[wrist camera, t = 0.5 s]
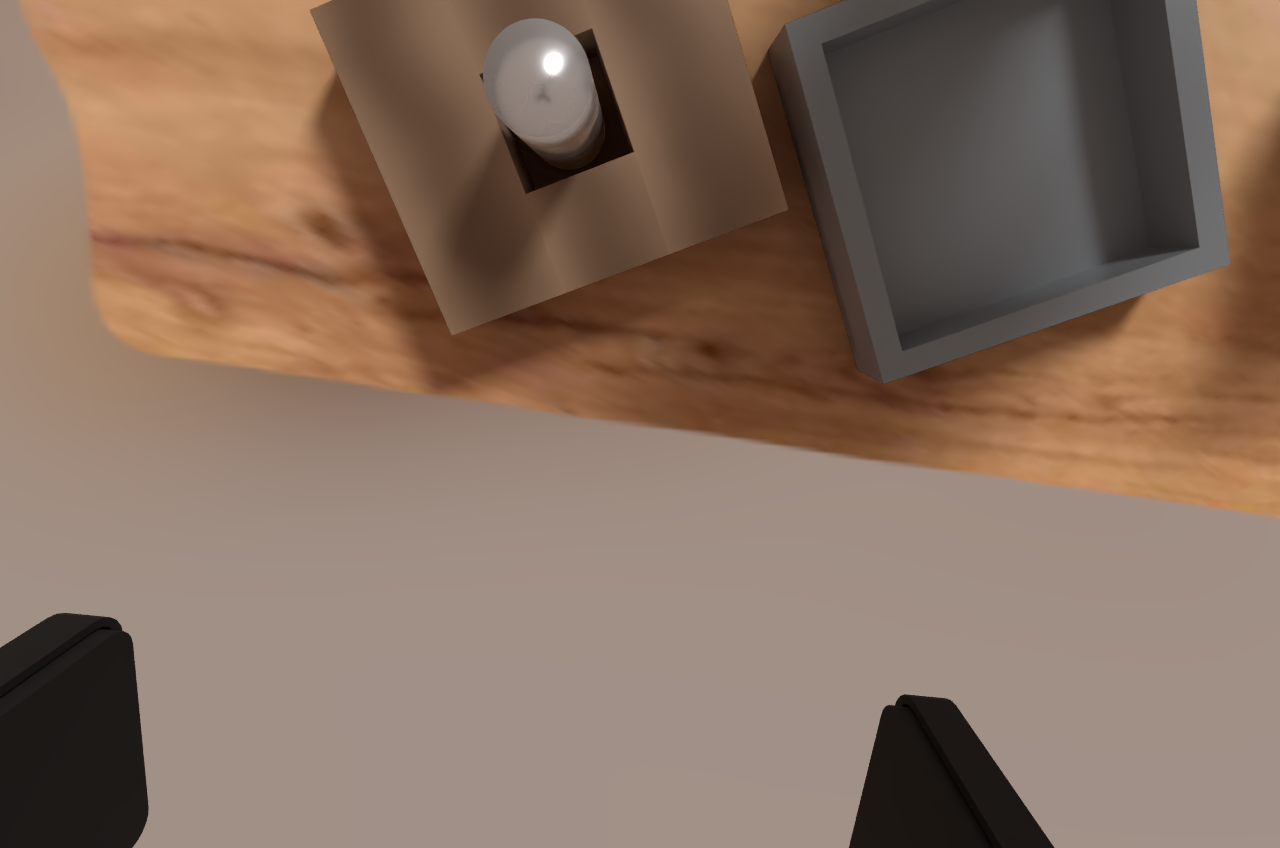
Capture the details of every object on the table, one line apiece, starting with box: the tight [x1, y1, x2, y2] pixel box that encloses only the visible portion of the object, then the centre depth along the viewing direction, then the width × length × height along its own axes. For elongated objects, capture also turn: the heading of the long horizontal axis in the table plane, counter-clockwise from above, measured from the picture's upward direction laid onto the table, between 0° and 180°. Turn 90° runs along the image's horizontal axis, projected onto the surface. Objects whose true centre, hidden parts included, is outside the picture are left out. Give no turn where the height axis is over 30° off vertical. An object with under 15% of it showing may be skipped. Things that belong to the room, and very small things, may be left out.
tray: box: [768, 0, 1230, 384], centre depth 30 cm, size 16×16×4 cm
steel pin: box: [483, 18, 605, 170], centre depth 27 cm, size 4×4×10 cm
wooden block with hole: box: [310, 0, 788, 335], centre depth 30 cm, size 16×14×4 cm
